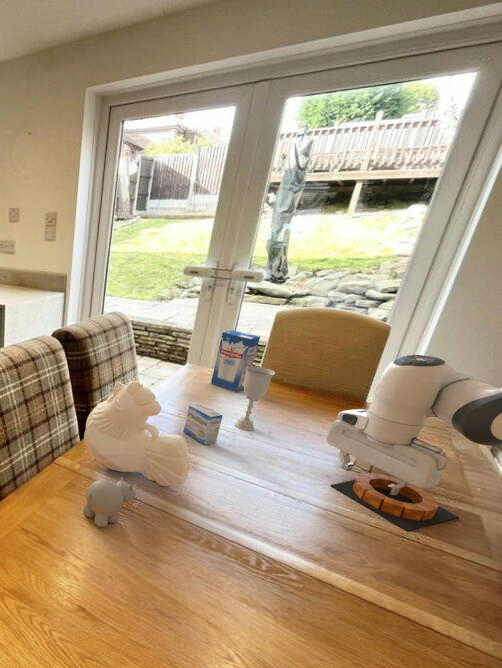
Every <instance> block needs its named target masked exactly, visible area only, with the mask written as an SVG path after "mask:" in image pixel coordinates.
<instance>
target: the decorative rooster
mask: <svg viewBox="0 0 502 668" xmlns="http://www.w3.org/2000/svg"><path fill="white" fill-rule="evenodd" d="M161 412H162V405H161V404H160V402H159V401H158V400H157V396H156V395H155V393H154V392H153V391H152V390H151V389H150V388H149V387H147V386H144V384H142V383H141V382H139V381H137V380H132V381H130V382H128V384H124V383H122V382H120V381H116V382H115V384H114V386H113V392H112V394H111V395H110V396H108V398H107V400H104V401H102V402H98V403H97V405H96V406H95V407H94V408H93V409H92V411H90V413H89V414H88V416H87V419H86V423H85V431H84V434H83V441H84V445H85V447H86V449H87V450H88V452H89V453H90V455H91V456H92V457H93V458H94V460H95V461H96V462H98V463H99V464H100V465H102V466H103V467H104V468H105V467H106V468H107V469H110V470H112V471H116V472H123V473H140V474H141V475H142V476H143V477H145V478H146V479H147V480H149V481H151V482H153V481H155V483H156V484H158V485H159V486H162V487H165V486H166V487H167V486H168V487H169V486H177V485H182V484H184V483H186V482H187V480H188V478H189V475H188V474H189V472H190V471H191V467H192V460H191V457H190V455H189V451H190V449H189V448H190V447H189V445H188V444H187V440H186V439H185V438H184V437H183V436H182V435H179V434H167V435H166V434H165V435H160V431H159V429H158V427H157V426H156V425H155V424H153V423H151V422H147V421H148V419H149V417H154V416H158V415H159V414H160V413H161Z"/></svg>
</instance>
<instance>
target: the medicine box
mask: <svg viewBox="0 0 502 668" xmlns="http://www.w3.org/2000/svg"><path fill="white" fill-rule="evenodd" d="M186 412H187V413H186V417H185V421H184V426H183V430H182V431H183V433H184V434H185V433H186V434H185V435H187V434H188V435H187V436H189V437H190V436H191V438H192V437H193V438H192V439H194V440H196V441H197V440H198V441H197V442H199V443H201V444H202V445H204V446H205V445H211V444H215V443H217V441H218V436H219V433H220V428H221V424H222V421H223V416H224V415H222V414H221V413H219V412H217V411H215V410H213V409H211V408H208V407H207V406H204V405H203V404H201V403H197V404H191V405H189V406H188V408H187V411H186ZM210 443H211V444H210Z"/></svg>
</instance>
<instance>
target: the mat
mask: <svg viewBox="0 0 502 668" xmlns="http://www.w3.org/2000/svg"><path fill="white" fill-rule="evenodd" d="M355 480H356V479H351V480H348V481H342V482H337V483H333V484H330V487H331V488H332V489H334V490H336V491H338V492H339V493H341V494H343V495H345V496H347V498H350V499H352V500H353V501H355V502H356V503H358V504H360V505H362V506H363V507H365V508H367V509H368V510H371V511H372V512H373V513H376V514H377V515H379V516H381V517H382V518H383V519H385V520H387V521H389V522H390V523H392V524H394V525H395V526H397V527H398V528H400V529H402V530H404V531H406V532H407V533H409V532H411V531H416V530H419V529H424V528H427V527H430V526H434V525H438V524H442V523H446V522H449V521H453V520H457V519H459V518H460V516H459V515H457V514H454V513H453V512H451V511H449V510H447V509H445V508H443V507H442V506H439V505H438V509H437V511H436V513H435V514H434V516H433V517H432V518H431V519H427V520H423V521H422V520H412V519H406V518H402V517H401V516H399V517H397V516H395V515H392V514H389V513H386V512H384V511H381V510H380V509H381V508H379V509H376V508H375V507H373V506H371V505H370V504H368V503H366V502H364V501H363V499H360V498H359V497H358V496H357V494H356V493H355V492H354V491H353V486H354V483H355ZM372 488H373V489H374V490H376V491H377V492H379V493H381V494H383V495H385V496H386V497H389V498H392V499H395V500H398V501H400V502H405V503H412V504H415V503H414V502H413V501H412V500H410V499H408V498H407V497H405V496H403V495H401V494H399V493H398V494H397V495H394V496H393V495H391V494H389V493H387V492H385V490H386V489H382V488H375V487H372Z"/></svg>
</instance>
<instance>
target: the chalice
mask: <svg viewBox="0 0 502 668" xmlns="http://www.w3.org/2000/svg"><path fill="white" fill-rule="evenodd" d="M246 371H247V372H246V376H245V380H244V390H243V391H244V394H245V397H246V399H247V400H249V401H248V404H246V406H247V408H246V410H245V416H243V417H240V418H239V419H238V420H237V421H236V422H234V426H235V425H236V426H237V428H238V429H240V428H241V430H242V431H249V432H250V431H254V430H255V425H254V421H253V420H252V419H251V418H250V416H251V414H253V412H252V409H253V408H254V402H257V401H259V400H260V399H261V398H262V397H263V396H264V395H265V394H266V393H267V392H268V390H269V388H270V384H271V381H272V378H273V377H274V375H275V374H276V372H275V371H274V370H272V369H270V368H266V367H263V366H256V365H252V366H247V367H246ZM236 426H235V427H236Z"/></svg>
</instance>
